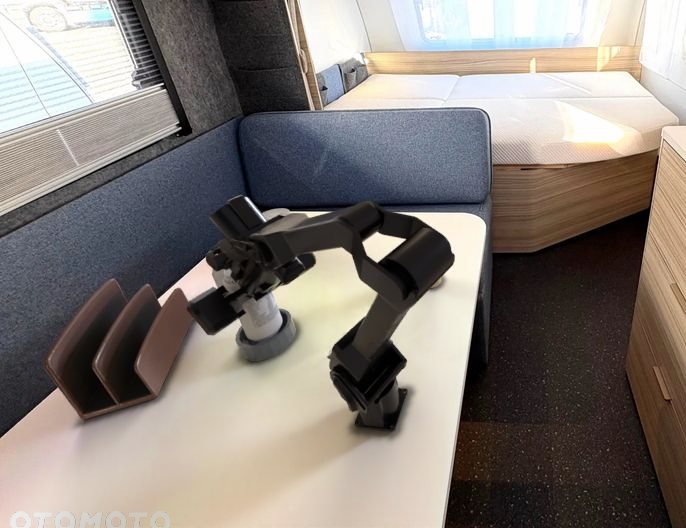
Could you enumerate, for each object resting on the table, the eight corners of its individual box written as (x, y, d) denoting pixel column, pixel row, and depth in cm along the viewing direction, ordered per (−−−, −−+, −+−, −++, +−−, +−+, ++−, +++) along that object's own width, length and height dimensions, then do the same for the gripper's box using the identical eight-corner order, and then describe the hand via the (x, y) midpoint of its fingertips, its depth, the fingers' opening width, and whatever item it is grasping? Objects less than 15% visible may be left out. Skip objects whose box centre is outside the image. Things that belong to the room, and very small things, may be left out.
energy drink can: (270, 314, 76) (246, 252, 70) (290, 324, 74) (267, 261, 67) (240, 337, 71) (211, 273, 65) (261, 348, 69) (232, 283, 62)
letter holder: (81, 422, 60) (32, 360, 55) (138, 328, 77) (105, 273, 71) (158, 398, 64) (119, 337, 58) (196, 313, 80) (169, 259, 74)
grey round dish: (276, 363, 69) (271, 349, 67) (229, 359, 70) (223, 345, 69) (305, 322, 77) (301, 309, 76) (263, 320, 78) (258, 307, 77)
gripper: (288, 199, 68) (269, 236, 77) (166, 261, 53) (160, 297, 63) (329, 247, 68) (305, 278, 77) (217, 323, 53) (204, 349, 62)
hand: (249, 297), depth 70 cm, fingers closed on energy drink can, 6 cm apart
